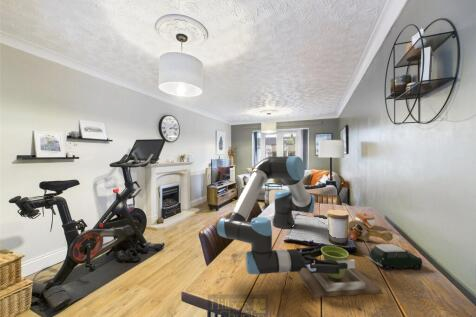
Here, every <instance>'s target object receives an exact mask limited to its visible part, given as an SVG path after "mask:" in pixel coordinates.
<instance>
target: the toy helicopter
mask: <svg viewBox="0 0 476 317" xmlns="http://www.w3.org/2000/svg"><path fill="white" fill-rule="evenodd" d="M355 214H356V215H357V216H358V217H359V218H360V221H358V220H356V219H352V220H350V221H349V222H348V224H347V226H348V225H349V229H348V232H347V237H348V236H349V237H348V239H350V240H351V239H352V240H351V241H357V239H359V240H362V241H364V242H365V243H368V242H369V241H370V237H375V238H380V239H382V240H383V241H385V242H391V241H392V240H393V239H394V235H393V234H392V233H391V232H390V231H387V230H384V231H381V230H376V229H373V228H374V225H373V226H372V225H371V224H370V223H369V222H367V219H366V218H363V217H362V216H361V215H359V214H357V213H355ZM366 224H367V225H368V226H369V227H371V228H369V227H368V226H367V225H366Z"/></svg>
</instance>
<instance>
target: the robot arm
mask: <svg viewBox="0 0 476 317" xmlns="http://www.w3.org/2000/svg"><path fill="white" fill-rule="evenodd" d="M305 170H306V169H305V164H304V161H303V159H302V158H301V157H300V156H294V155H291V156H289V155H288V156H287V155H285V156H283V155H282V156H268V157H265V158H263V159H262V160H260V161H258V162H257V163H256V164H255V165H254V166H253V168H252V169H251V171H250V173H249V179H248V180H247V182H246V184H245V186H244V188H243V189H242V191H241V193H240V194H239V197H238V199H237V200H236V202H235V204H234V206H233V208H232V209H231V212H230V213H229V215H228V216H227V217H221V218H220V219H219V220H218V222H217V225H216V232H217V234H218V235H219V236H220V237H222V238H225V239H228V240H229V239H230V240H235V241H239V242H243V243H245V244H246V243H247V244H250V245H251V247H250V248H251V249H250V250H249V251H246V252H245V268H246V271H247V273H248V275H260V276H261V275H265V274H266V275H267V274H281V273H283V274H285V273H289V272H290V273H297V272H300V271H301V269H302V268H308V269H309V270H310V273H312V274H313V273H331V274H340V269H349V268H356V260H355V259H347V260H336V262H333V261H326V260H324V259H319V258H318V257H320V256H323V254H322V252H321V248H322V247H323V246H322V245H315V246H307V247H302V248H301V247H297V248H291V249H290V248H287V249H273V229H272V226H274V227H276V228H279V229H292V228H293V227H292V226H293V225H294V224H295V225H296V221H295V218H294V215H293V212H298V213H306V214H313V213H314V211H315V205H316V204H315V201H316V196H315V195H314V194H311V193H310V192H309V191H308V190H307V189H306V187H305V184H304V182H303V179H304V178H305ZM273 179H274V180H280V181H281V182H282V183H283V184H284V185H286V186H287V189H288V190H281V191H280V190H279V191H276V192H275V193H274V215H273V218H272V221H271V220H270V218H268V217H262V216H261V217H253V218H251V220H250V221H248V218H249V216H250V214H251V212H252V210H253V208H254V206H255V203H256V201H257V199H258V197H259V195H260V192H261V191H262V189H263V186H264V185H265V184H267V182H268V181H269V180H273ZM291 227H292V228H291ZM314 263H315V264H314Z"/></svg>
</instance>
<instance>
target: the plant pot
mask: <svg viewBox="0 0 476 317" xmlns="http://www.w3.org/2000/svg"><path fill="white" fill-rule="evenodd" d="M321 252H322V256H323V260H326V261H333V262H336V260H348V257H349V252H348V251H347V250H346V249H344V248H343V247H339V246H336V245H325V246H324V245H323V246H322V248H321ZM344 271H345V269H340V274H331V273H327V274H328V275H329V276H330V277H333V278H338V279H339V278H341V277H344Z"/></svg>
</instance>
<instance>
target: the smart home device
mask: <svg viewBox="0 0 476 317" xmlns="http://www.w3.org/2000/svg"><path fill="white" fill-rule="evenodd" d="M314 217H319V218H323V219H327V218H328V217H327V216H326V215H323V214H320V215H319V214H315V215H314V214H313V218H314Z"/></svg>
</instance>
